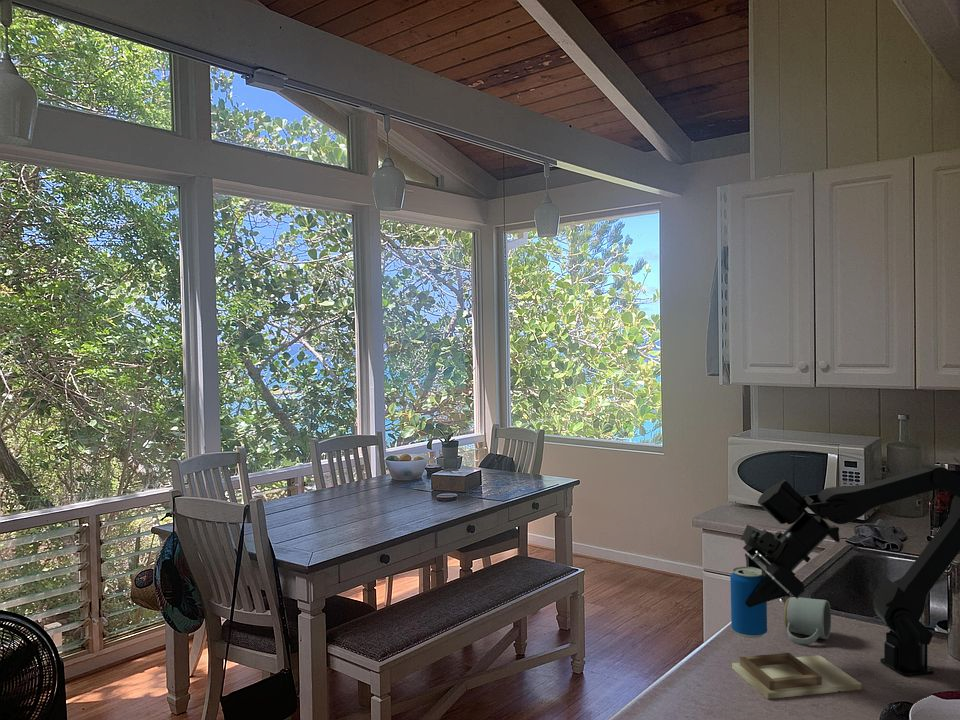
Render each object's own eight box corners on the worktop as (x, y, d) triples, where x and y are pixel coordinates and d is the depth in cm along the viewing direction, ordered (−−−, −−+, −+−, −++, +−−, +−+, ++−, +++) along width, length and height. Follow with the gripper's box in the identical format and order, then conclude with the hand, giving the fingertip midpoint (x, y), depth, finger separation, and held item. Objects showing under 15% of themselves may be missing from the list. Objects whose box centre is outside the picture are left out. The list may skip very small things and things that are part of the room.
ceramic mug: (790, 623, 160) (790, 589, 159) (831, 632, 155) (831, 596, 155) (778, 641, 151) (778, 604, 151) (821, 650, 146) (821, 612, 146)
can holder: (818, 660, 142) (819, 647, 141) (861, 689, 130) (861, 675, 130) (732, 668, 138) (732, 655, 138) (767, 698, 127) (767, 684, 127)
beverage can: (739, 623, 146) (737, 564, 146) (772, 631, 142) (770, 569, 142) (726, 634, 141) (724, 572, 141) (760, 642, 137) (758, 578, 137)
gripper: (752, 501, 150) (698, 555, 151) (785, 524, 131) (723, 586, 132) (792, 539, 150) (738, 593, 151) (831, 567, 131) (769, 629, 132)
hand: (741, 598), depth 141 cm, fingers closed on beverage can, 6 cm apart
